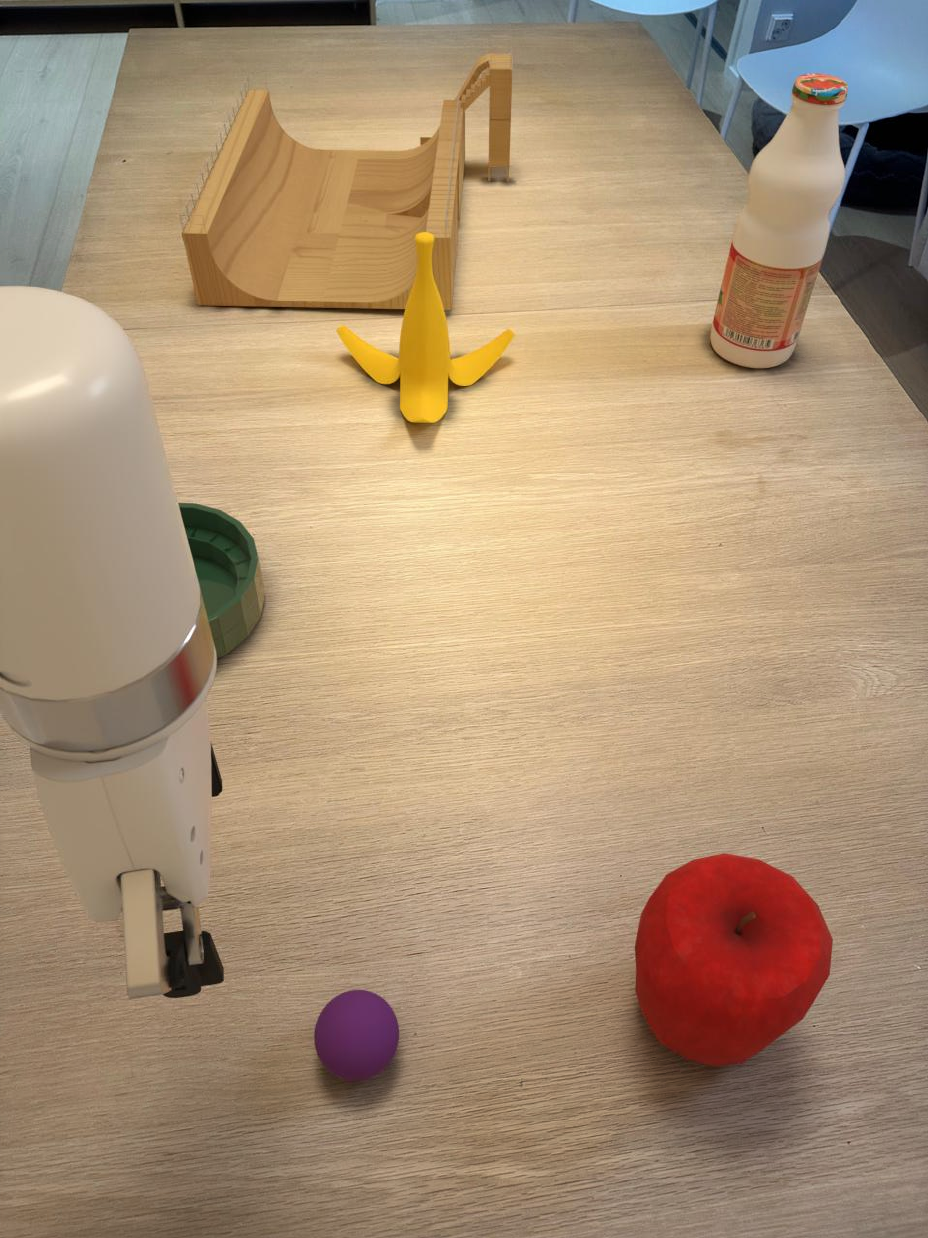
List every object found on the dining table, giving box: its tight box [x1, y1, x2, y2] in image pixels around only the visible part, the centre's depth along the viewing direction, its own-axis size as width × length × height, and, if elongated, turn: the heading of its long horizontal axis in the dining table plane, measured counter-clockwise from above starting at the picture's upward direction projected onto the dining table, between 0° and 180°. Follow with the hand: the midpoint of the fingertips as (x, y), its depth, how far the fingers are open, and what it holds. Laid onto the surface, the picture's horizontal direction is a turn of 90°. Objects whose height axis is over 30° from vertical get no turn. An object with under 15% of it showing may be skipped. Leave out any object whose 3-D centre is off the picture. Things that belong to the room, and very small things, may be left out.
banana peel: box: [336, 232, 516, 424], centre depth 100 cm, size 17×19×17 cm
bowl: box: [178, 502, 266, 659], centre depth 84 cm, size 15×15×5 cm
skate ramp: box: [179, 38, 514, 311], centre depth 125 cm, size 40×35×16 cm
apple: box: [634, 852, 834, 1068], centre depth 59 cm, size 11×10×14 cm
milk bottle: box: [710, 72, 849, 369], centre depth 104 cm, size 9×9×28 cm
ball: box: [313, 989, 400, 1082], centre depth 60 cm, size 5×5×5 cm
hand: (189, 881), depth 48 cm, fingers open, 9 cm apart
